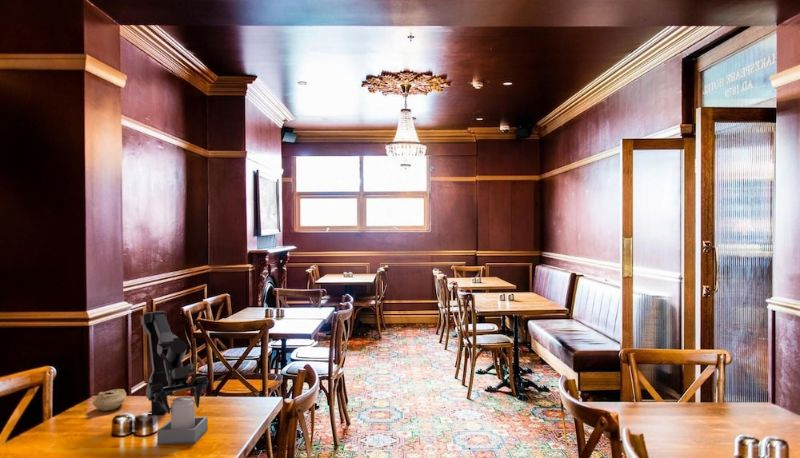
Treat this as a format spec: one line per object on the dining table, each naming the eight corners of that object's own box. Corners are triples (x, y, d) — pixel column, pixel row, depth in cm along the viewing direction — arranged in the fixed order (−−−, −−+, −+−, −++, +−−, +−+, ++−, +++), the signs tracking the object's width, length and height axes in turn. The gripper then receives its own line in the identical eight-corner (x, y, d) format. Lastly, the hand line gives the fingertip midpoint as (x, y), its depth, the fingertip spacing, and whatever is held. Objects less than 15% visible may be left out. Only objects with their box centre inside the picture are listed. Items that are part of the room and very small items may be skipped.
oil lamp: (133, 401, 213) (132, 381, 213) (116, 413, 198) (116, 392, 198) (105, 402, 212) (105, 382, 212) (86, 415, 197) (86, 394, 197)
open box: (172, 430, 179) (172, 417, 179) (207, 429, 180) (207, 416, 180) (157, 444, 167) (157, 430, 167) (195, 443, 168) (194, 429, 168)
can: (177, 440, 168) (176, 403, 169) (166, 435, 173) (166, 399, 173) (199, 433, 174) (198, 397, 174) (188, 428, 179) (188, 393, 179)
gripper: (149, 361, 172) (157, 402, 163) (206, 352, 183) (217, 391, 174) (144, 380, 178) (152, 421, 169) (200, 370, 189) (210, 408, 180)
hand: (183, 409), depth 173 cm, fingers open, 9 cm apart
